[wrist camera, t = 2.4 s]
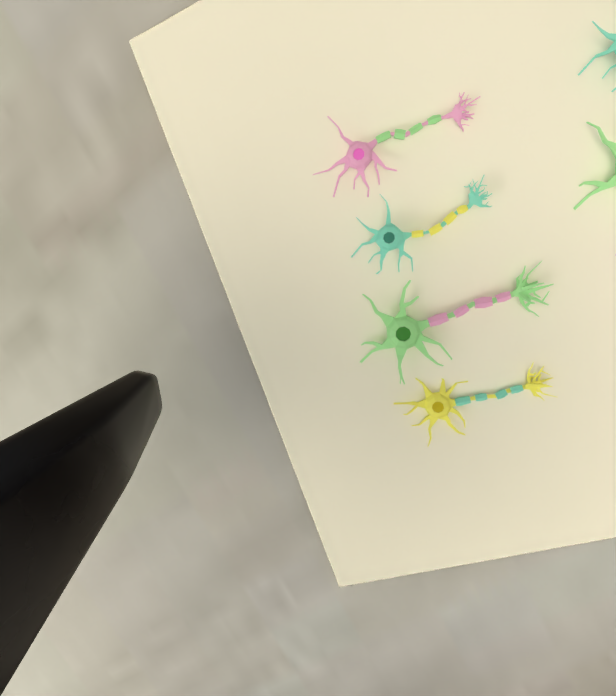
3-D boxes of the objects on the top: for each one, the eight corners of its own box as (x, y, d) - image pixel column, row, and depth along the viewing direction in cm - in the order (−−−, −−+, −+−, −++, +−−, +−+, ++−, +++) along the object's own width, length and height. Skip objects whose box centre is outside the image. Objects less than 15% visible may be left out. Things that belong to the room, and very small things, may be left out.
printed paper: (340, 583, 28) (336, 601, 27) (132, 43, 24) (115, 31, 23) (1039, 455, 20) (1086, 472, 18) (904, -392, 16) (951, -452, 14)
